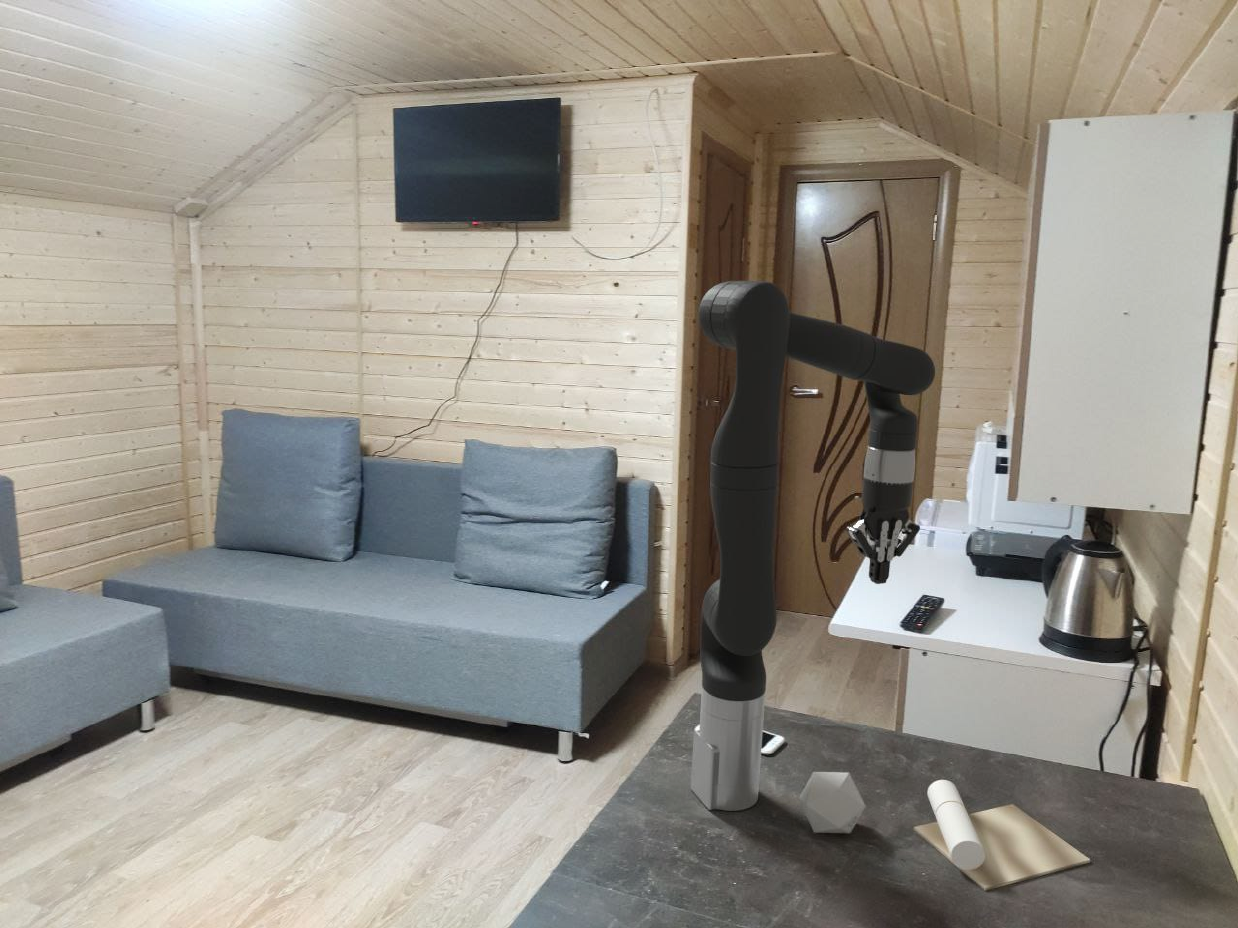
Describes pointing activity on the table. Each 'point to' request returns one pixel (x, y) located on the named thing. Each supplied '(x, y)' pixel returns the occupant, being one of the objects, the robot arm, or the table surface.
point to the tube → (955, 825)
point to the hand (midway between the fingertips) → (878, 582)
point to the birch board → (1010, 847)
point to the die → (832, 802)
